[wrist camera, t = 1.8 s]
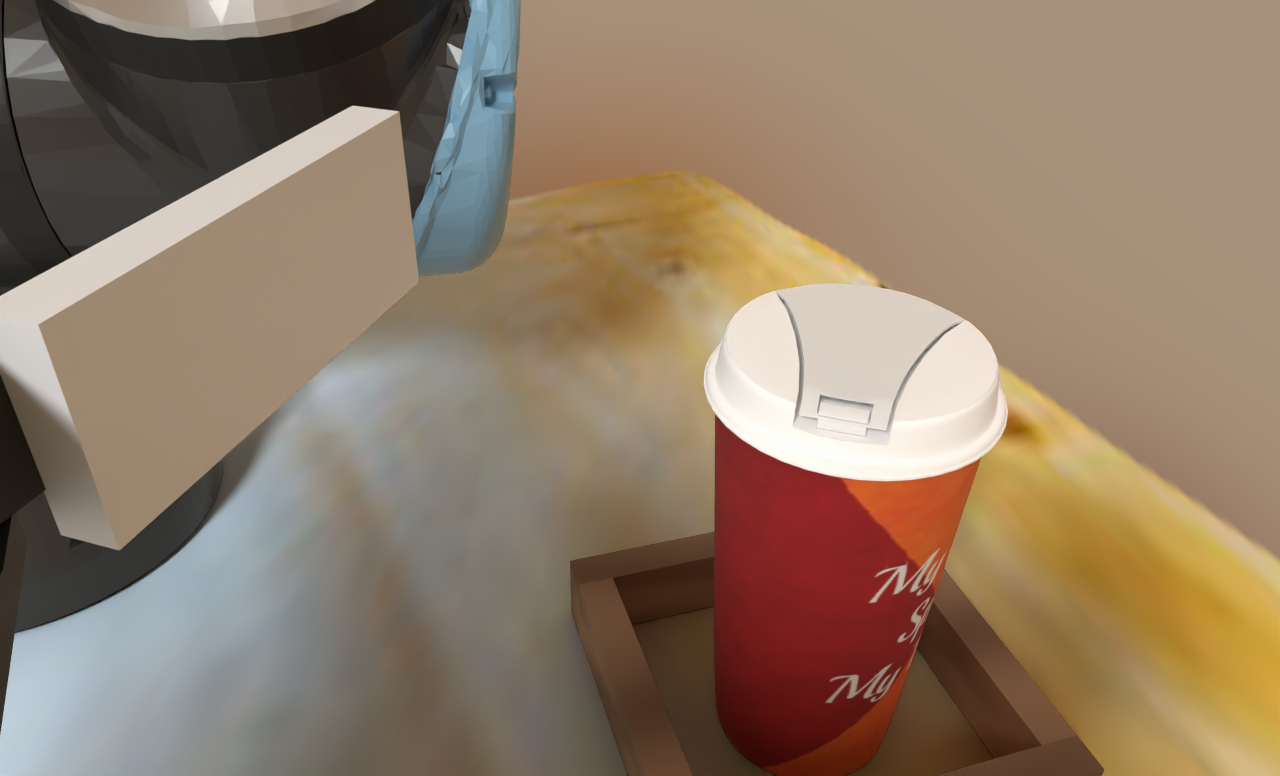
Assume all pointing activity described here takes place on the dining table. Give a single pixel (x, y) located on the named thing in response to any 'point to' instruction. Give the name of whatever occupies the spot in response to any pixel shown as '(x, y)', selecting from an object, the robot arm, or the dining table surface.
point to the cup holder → (684, 581)
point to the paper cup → (836, 509)
